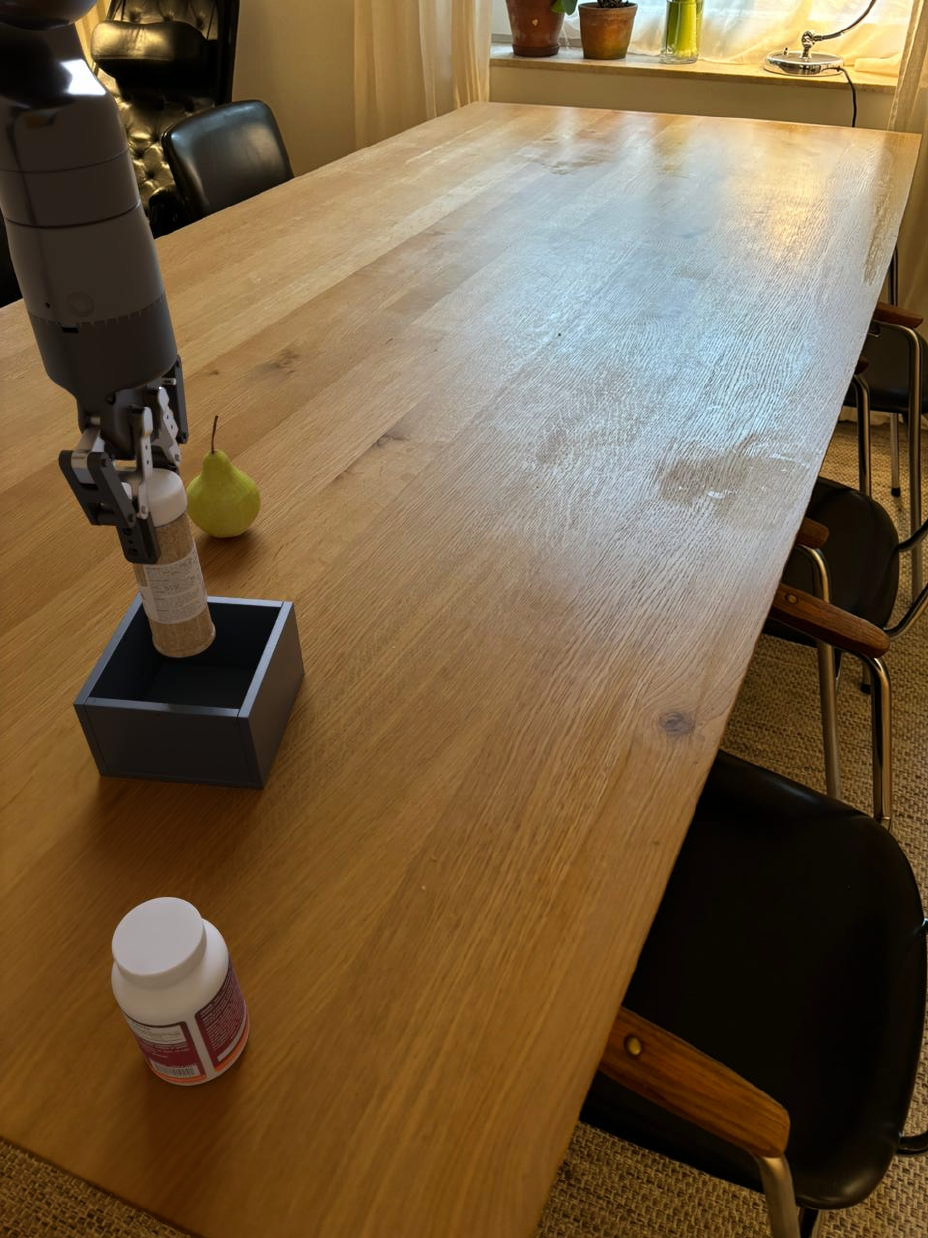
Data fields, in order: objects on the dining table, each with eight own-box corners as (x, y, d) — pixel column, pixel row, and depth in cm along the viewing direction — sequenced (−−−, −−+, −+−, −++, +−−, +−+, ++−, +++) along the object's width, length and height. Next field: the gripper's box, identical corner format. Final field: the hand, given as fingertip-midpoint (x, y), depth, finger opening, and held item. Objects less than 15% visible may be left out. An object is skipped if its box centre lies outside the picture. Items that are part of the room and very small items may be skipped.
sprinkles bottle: (155, 623, 74) (112, 468, 65) (218, 616, 74) (183, 461, 66) (151, 665, 70) (105, 507, 62) (217, 657, 71) (180, 499, 62)
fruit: (233, 560, 94) (210, 450, 86) (177, 540, 97) (151, 432, 89) (277, 523, 99) (259, 416, 91) (223, 505, 101) (202, 399, 93)
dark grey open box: (99, 775, 74) (72, 704, 69) (158, 661, 83) (138, 590, 79) (263, 790, 73) (248, 718, 68) (304, 672, 82) (293, 601, 77)
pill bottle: (228, 970, 62) (194, 864, 55) (267, 1052, 58) (237, 950, 51) (130, 1021, 59) (82, 918, 52) (164, 1111, 55) (117, 1012, 48)
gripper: (82, 240, 61) (143, 477, 72) (-33, 341, 50) (59, 601, 61) (200, 244, 60) (243, 482, 72) (108, 348, 50) (176, 609, 61)
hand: (158, 536), depth 66 cm, fingers closed on sprinkles bottle, 4 cm apart
